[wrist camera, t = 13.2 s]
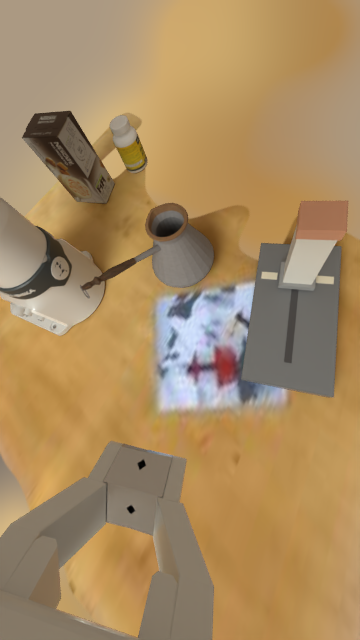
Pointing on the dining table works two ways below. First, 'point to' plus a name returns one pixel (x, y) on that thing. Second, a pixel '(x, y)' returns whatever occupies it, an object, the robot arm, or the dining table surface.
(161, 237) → the coffee pot
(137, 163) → the supplement bottle
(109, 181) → the coffee box
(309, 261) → the fader knob
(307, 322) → the fader console
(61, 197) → the dining table surface
